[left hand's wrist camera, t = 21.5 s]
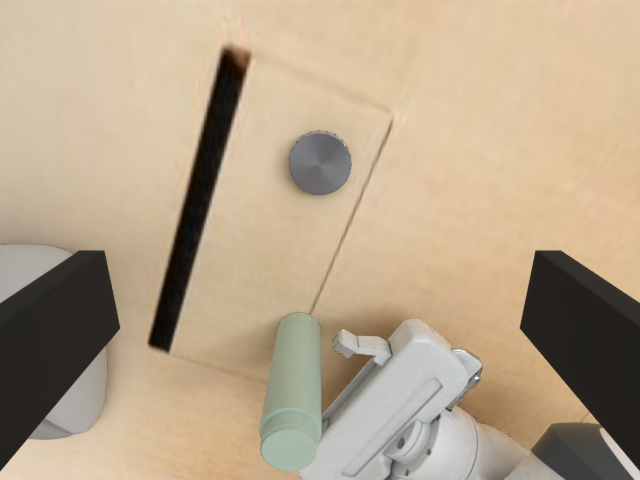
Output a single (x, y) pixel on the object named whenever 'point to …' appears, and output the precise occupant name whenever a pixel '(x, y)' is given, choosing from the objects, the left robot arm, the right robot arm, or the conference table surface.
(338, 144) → the lid
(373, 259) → the conference table surface
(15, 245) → the projector
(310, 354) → the jar
